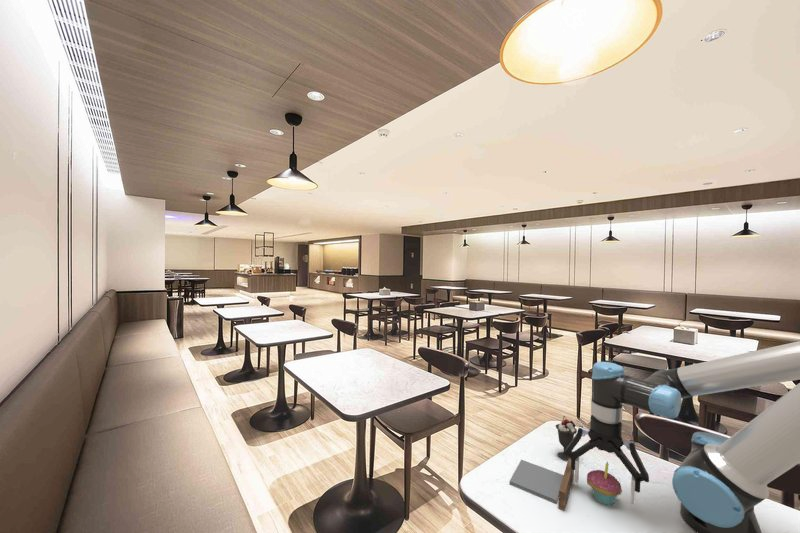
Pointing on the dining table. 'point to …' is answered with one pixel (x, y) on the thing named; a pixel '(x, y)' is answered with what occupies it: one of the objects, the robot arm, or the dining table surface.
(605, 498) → the cupcake
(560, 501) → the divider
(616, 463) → the dining table surface
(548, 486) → the board
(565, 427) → the sundae
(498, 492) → the dining table surface
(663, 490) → the dining table surface
